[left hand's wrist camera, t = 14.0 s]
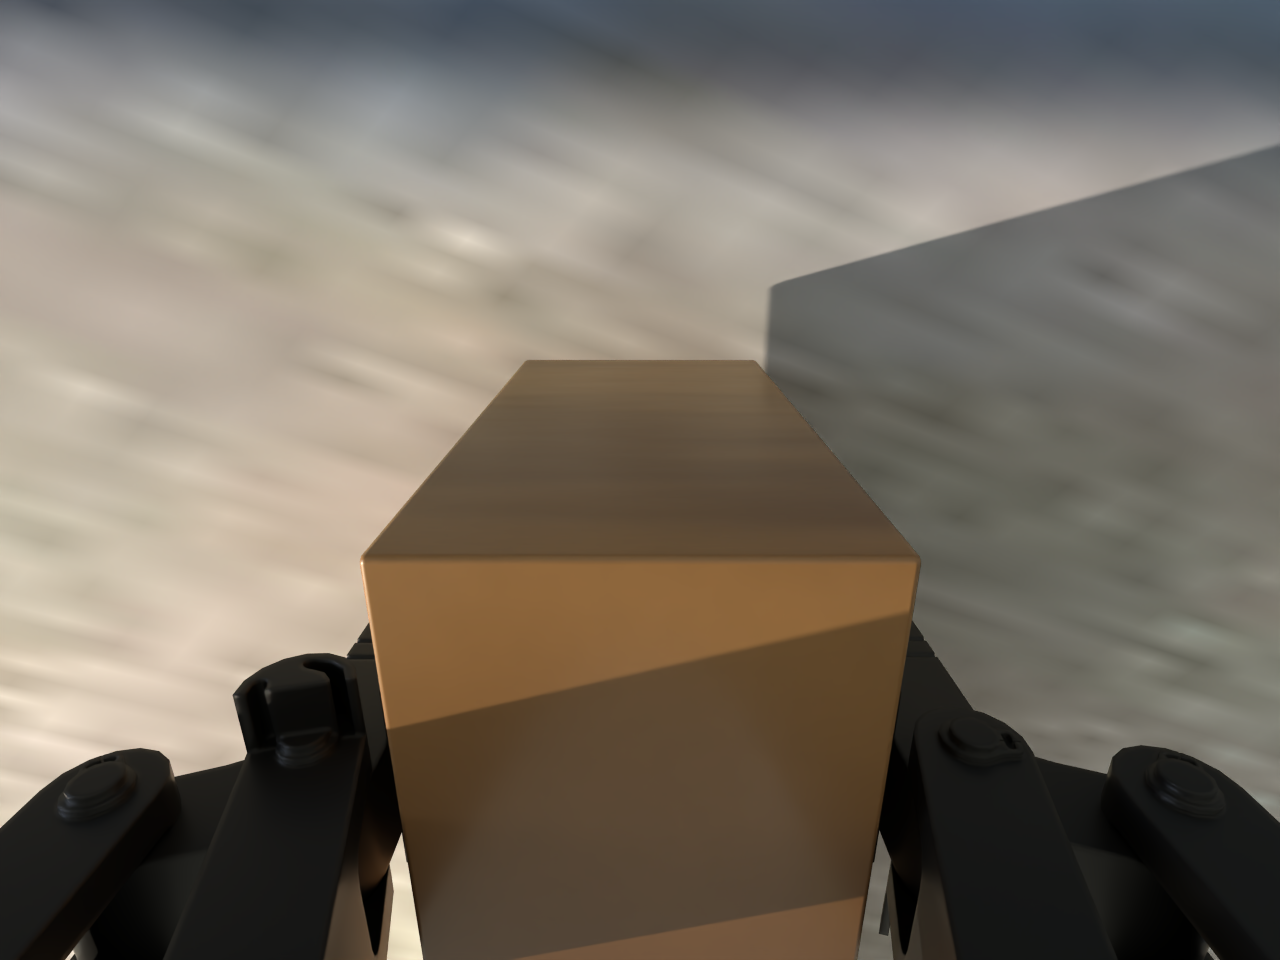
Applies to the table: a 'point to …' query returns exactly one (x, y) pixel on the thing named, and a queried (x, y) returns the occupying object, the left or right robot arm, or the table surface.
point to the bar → (640, 672)
